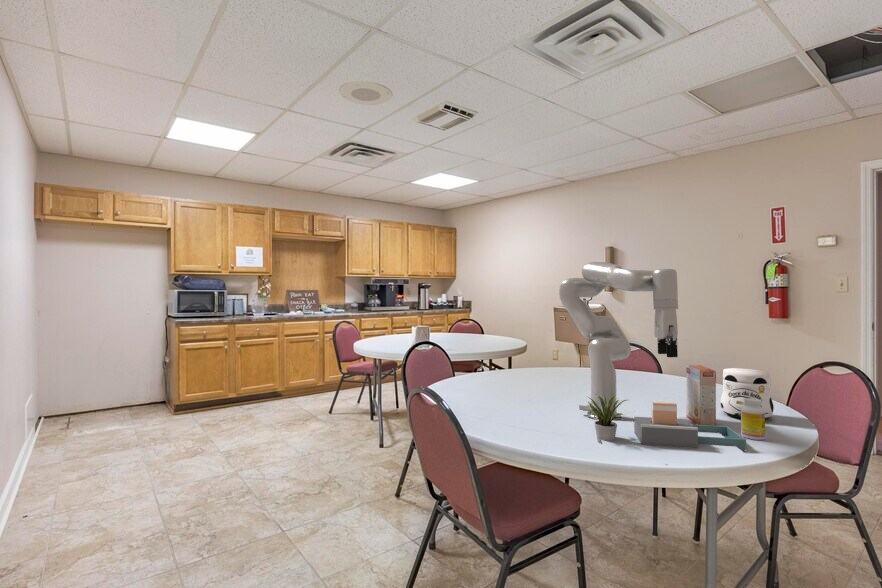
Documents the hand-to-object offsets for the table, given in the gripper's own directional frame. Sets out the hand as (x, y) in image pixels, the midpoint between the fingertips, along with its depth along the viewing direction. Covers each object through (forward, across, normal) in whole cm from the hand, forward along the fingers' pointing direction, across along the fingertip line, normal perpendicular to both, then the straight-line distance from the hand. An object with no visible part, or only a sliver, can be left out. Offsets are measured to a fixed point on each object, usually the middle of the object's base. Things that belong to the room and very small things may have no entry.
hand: (667, 355), depth 150 cm
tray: (+28, +1, +12) cm, 31 cm away
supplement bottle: (+29, -6, +28) cm, 40 cm away
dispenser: (+28, +7, -4) cm, 29 cm away
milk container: (+28, -34, +38) cm, 58 cm away
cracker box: (+28, -22, +18) cm, 40 cm away
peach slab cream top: (+27, +7, -4) cm, 28 cm away
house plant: (+28, +7, -21) cm, 36 cm away
